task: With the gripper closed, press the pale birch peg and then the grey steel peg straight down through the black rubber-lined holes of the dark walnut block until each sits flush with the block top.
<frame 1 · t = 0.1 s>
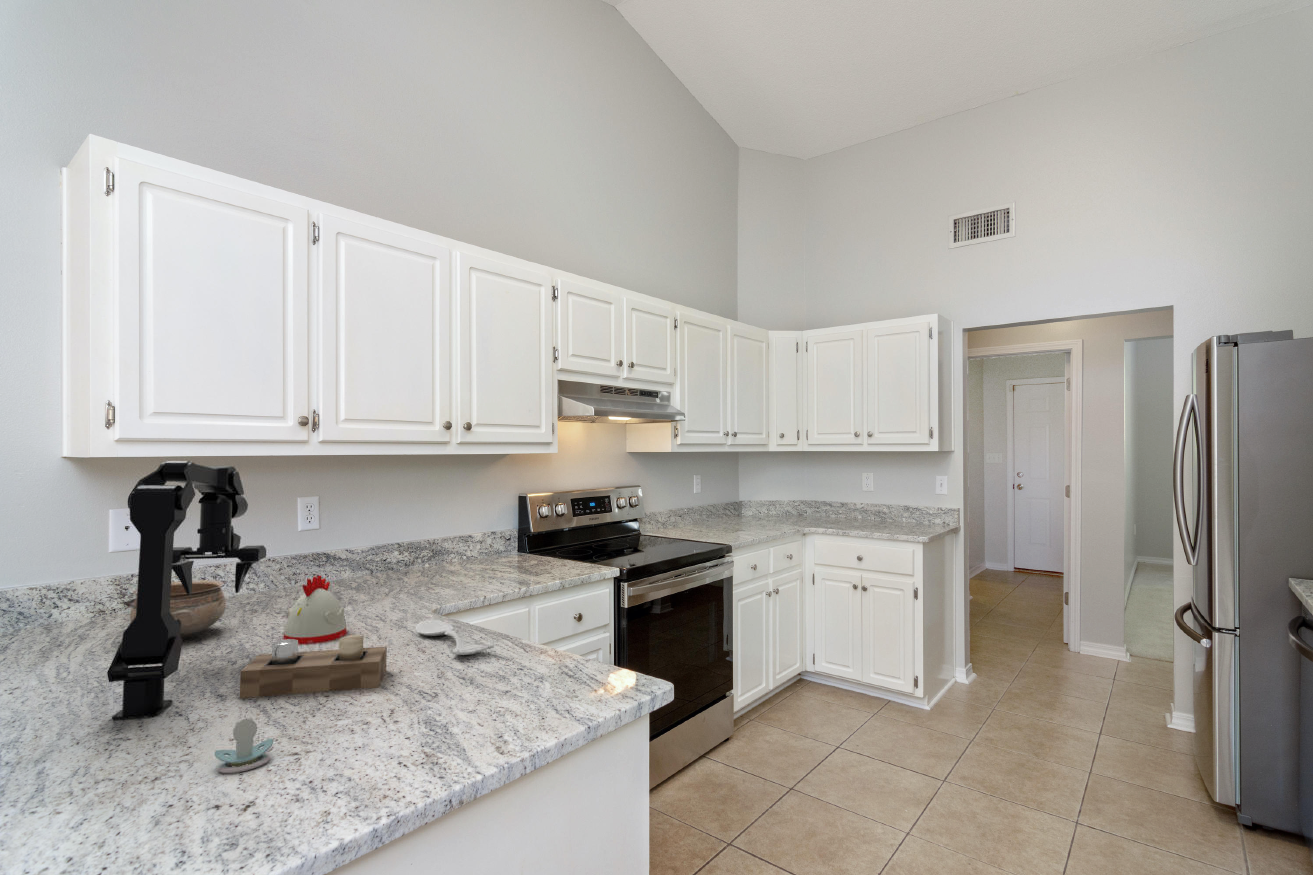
hand: (213, 593, 139), 15 cm above the countertop, fingers open, 9 cm apart
spoon: (449, 645, 153), on the countertop
walnut block: (317, 683, 125), on the countertop
cooking pot: (178, 637, 155), on the countertop
birch peg: (351, 650, 127), point 6 cm above the countertop, slide at 3.5 cm
steel peg: (284, 654, 124), point 6 cm above the countertop, slide at 3.5 cm
pacifier: (244, 765, 93), on the countertop
kitchen timer: (315, 636, 158), on the countertop
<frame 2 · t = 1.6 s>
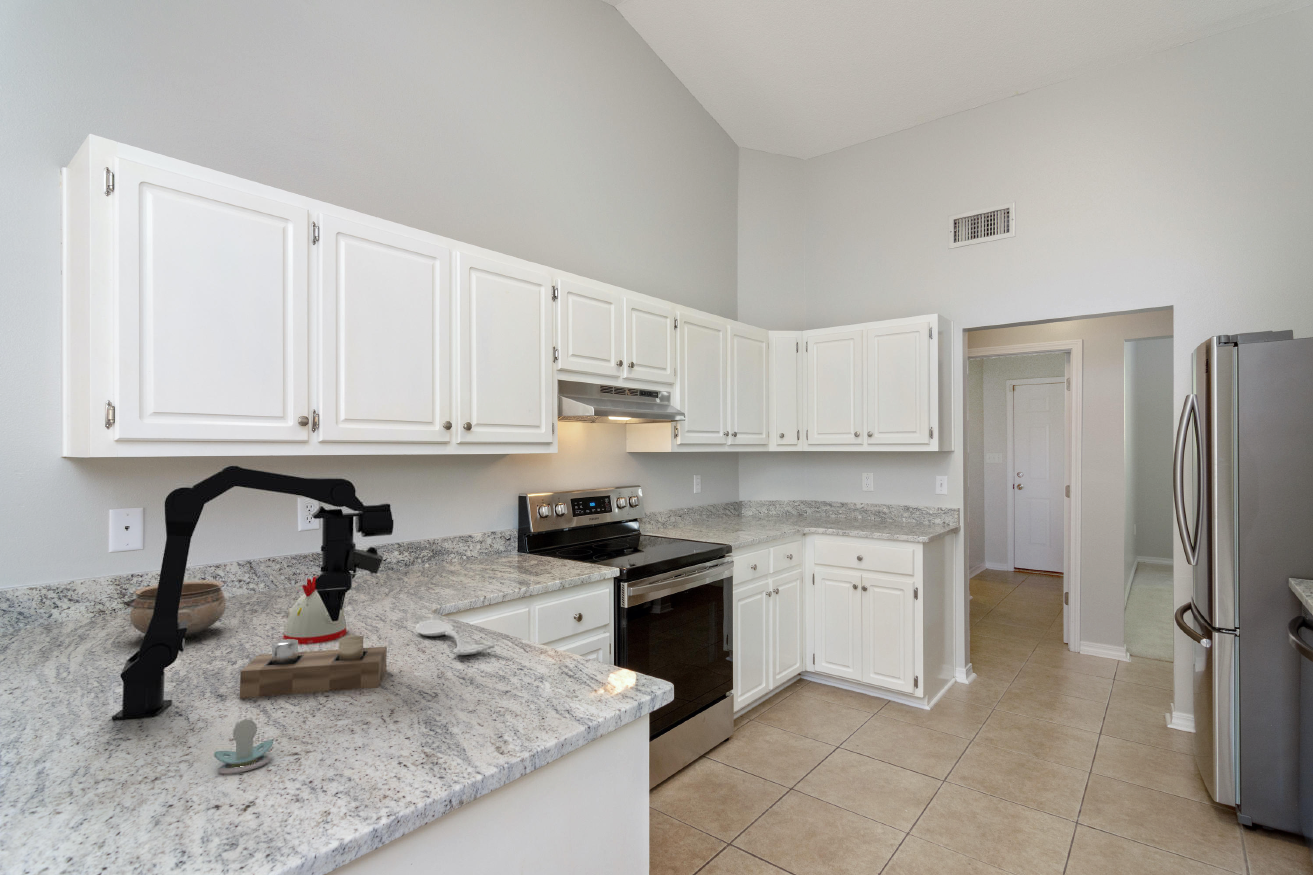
hand: (337, 615, 129), 13 cm above the countertop, fingers open, 9 cm apart
nothing on the countertop moved.
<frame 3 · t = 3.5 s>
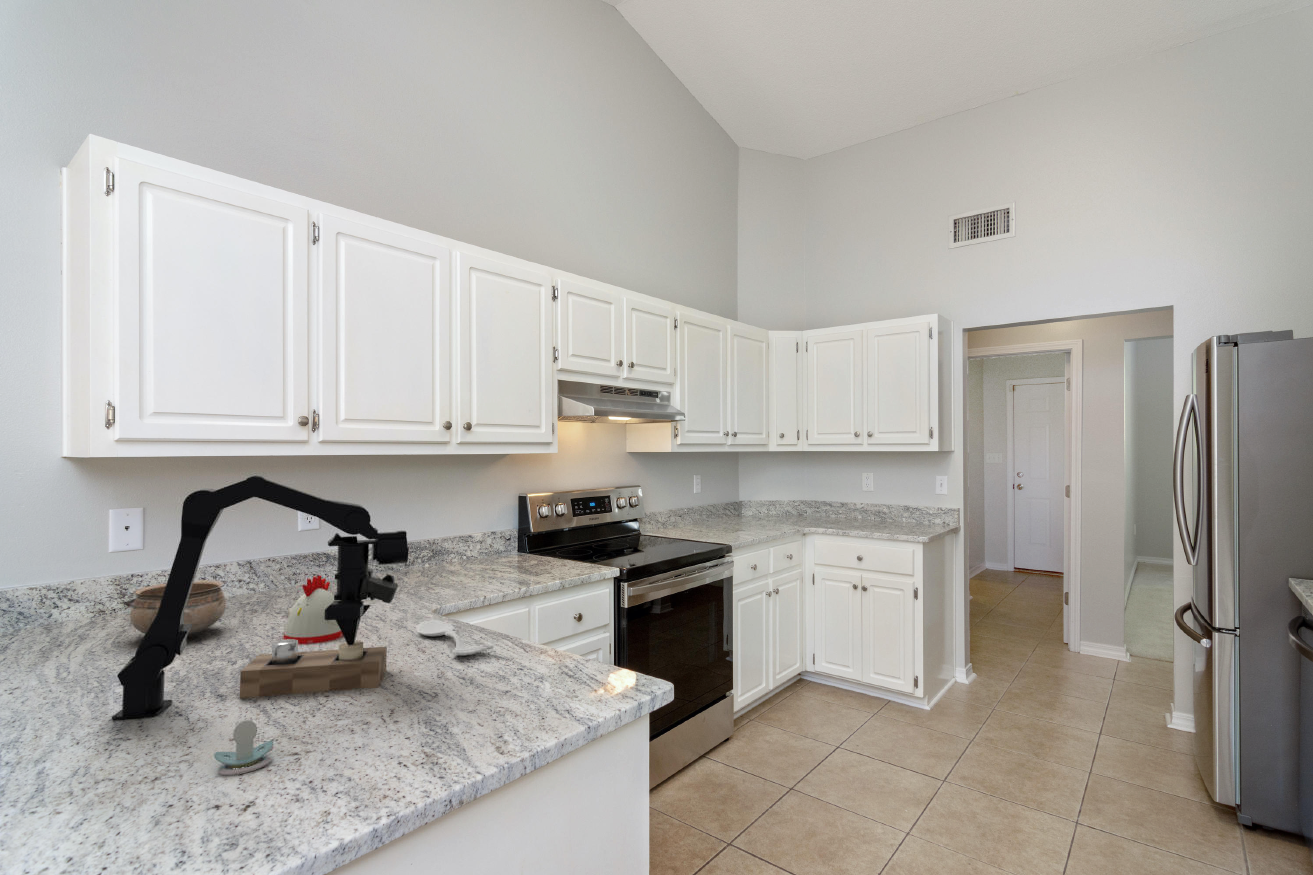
hand: (351, 644, 127), 7 cm above the countertop, fingers closed, pressing on birch peg
birch peg: (351, 655, 127), point 5 cm above the countertop, slide at 2.4 cm, touching gripper
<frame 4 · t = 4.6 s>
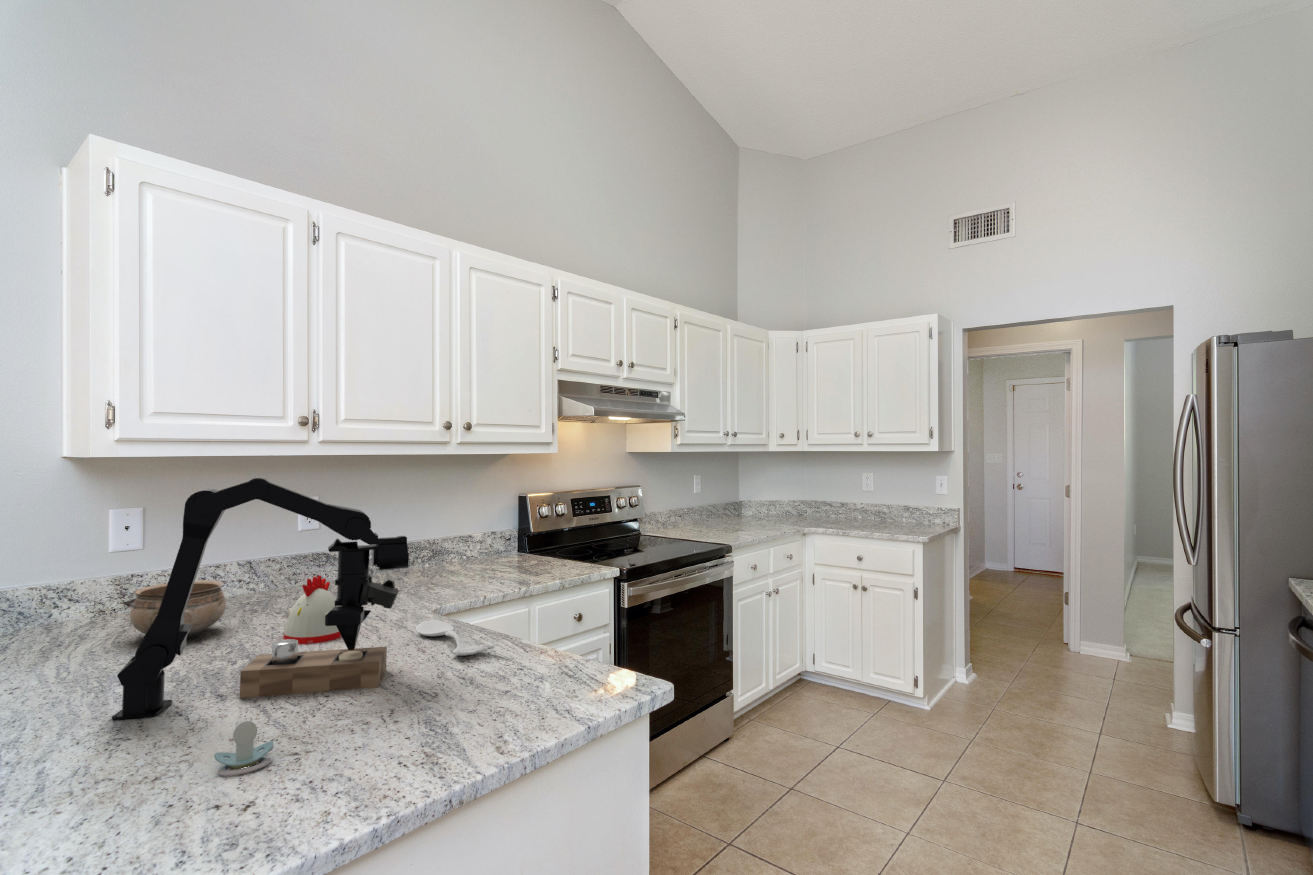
hand: (351, 649, 127), 6 cm above the countertop, fingers closed
birch peg: (350, 666, 127), point 3 cm above the countertop, slide at 0.3 cm
everything else where it was.
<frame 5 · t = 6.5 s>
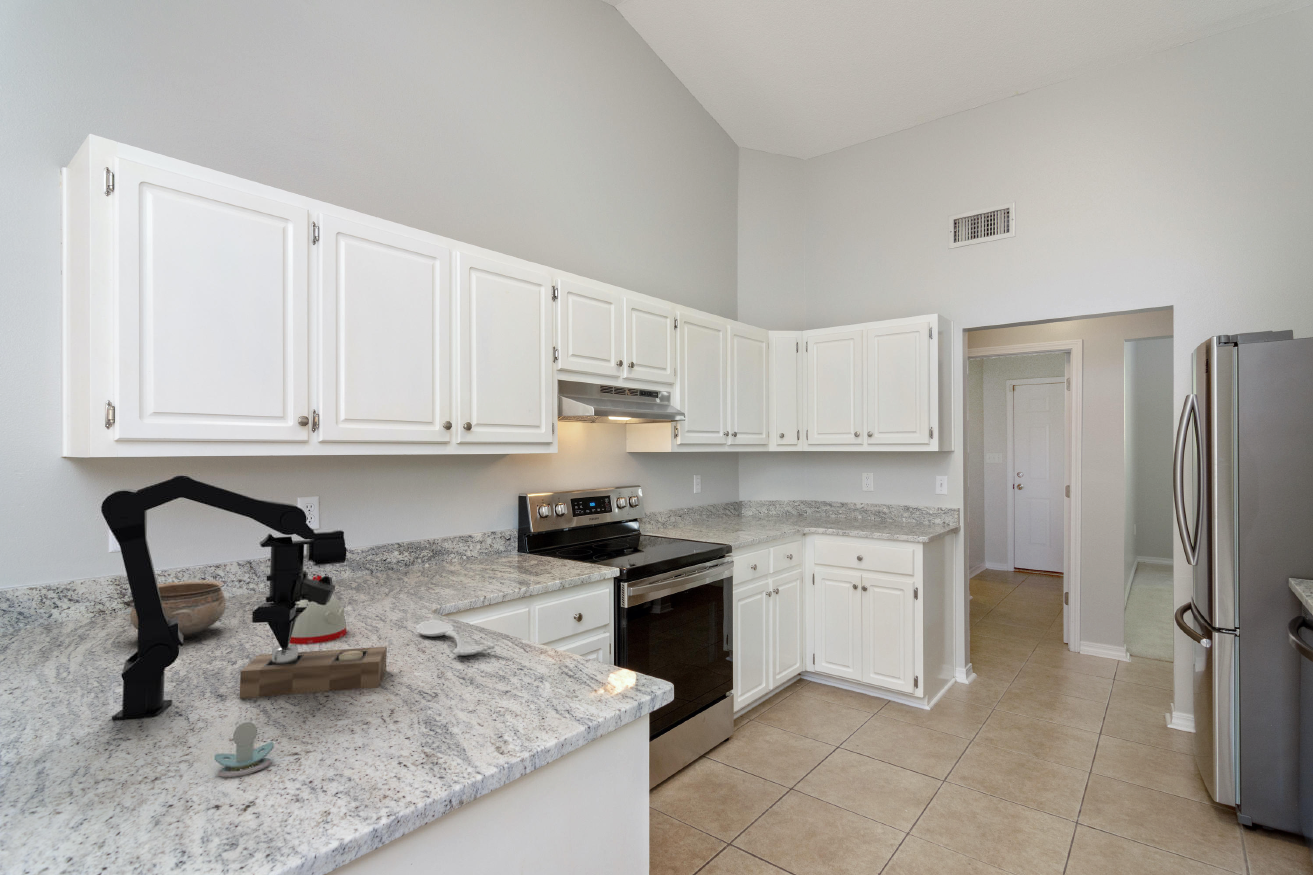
hand: (284, 647, 124), 8 cm above the countertop, fingers closed, pressing on steel peg
steel peg: (284, 659, 124), point 5 cm above the countertop, slide at 2.5 cm, touching gripper
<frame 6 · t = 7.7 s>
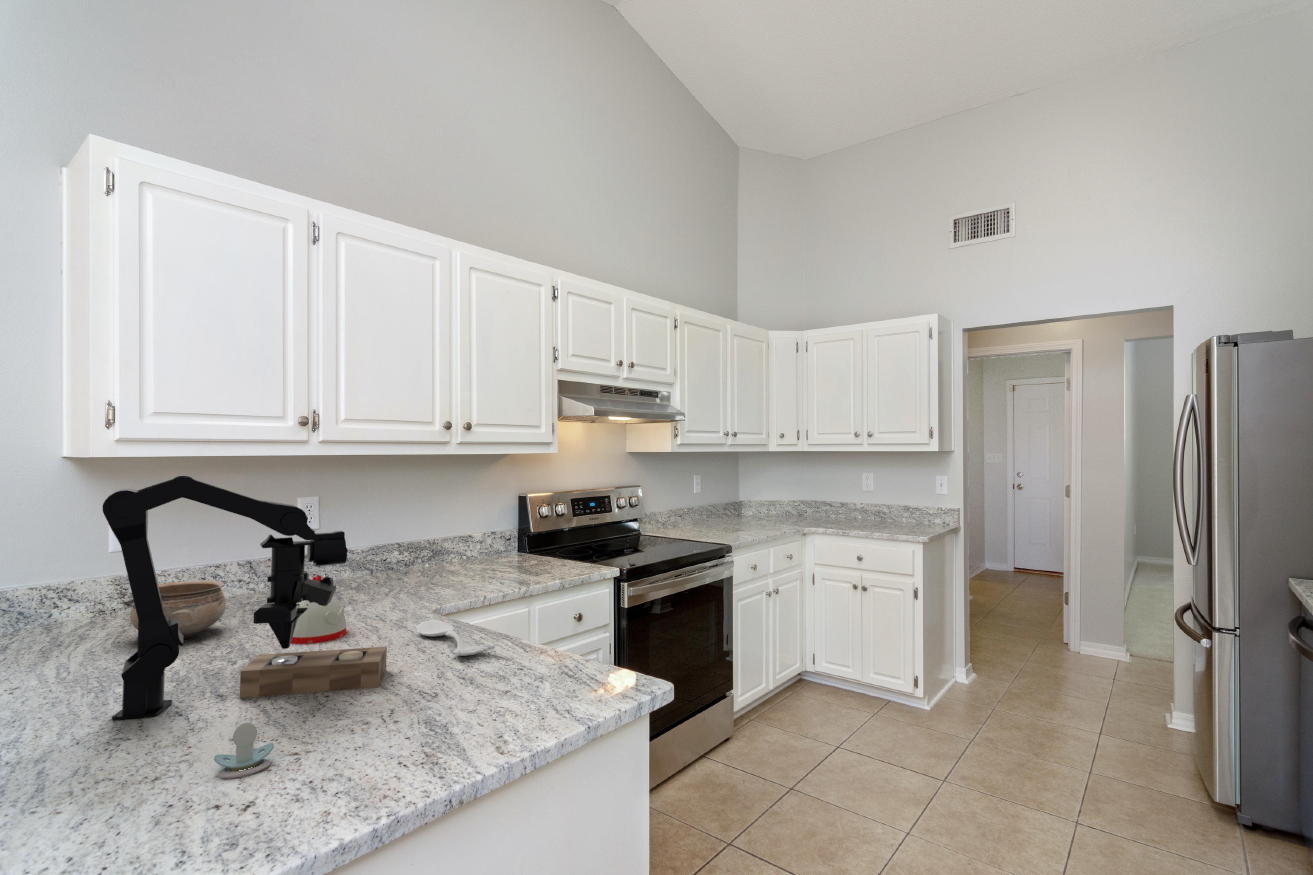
hand: (285, 648, 124), 7 cm above the countertop, fingers closed
steel peg: (284, 671, 124), point 3 cm above the countertop, slide at 0.2 cm
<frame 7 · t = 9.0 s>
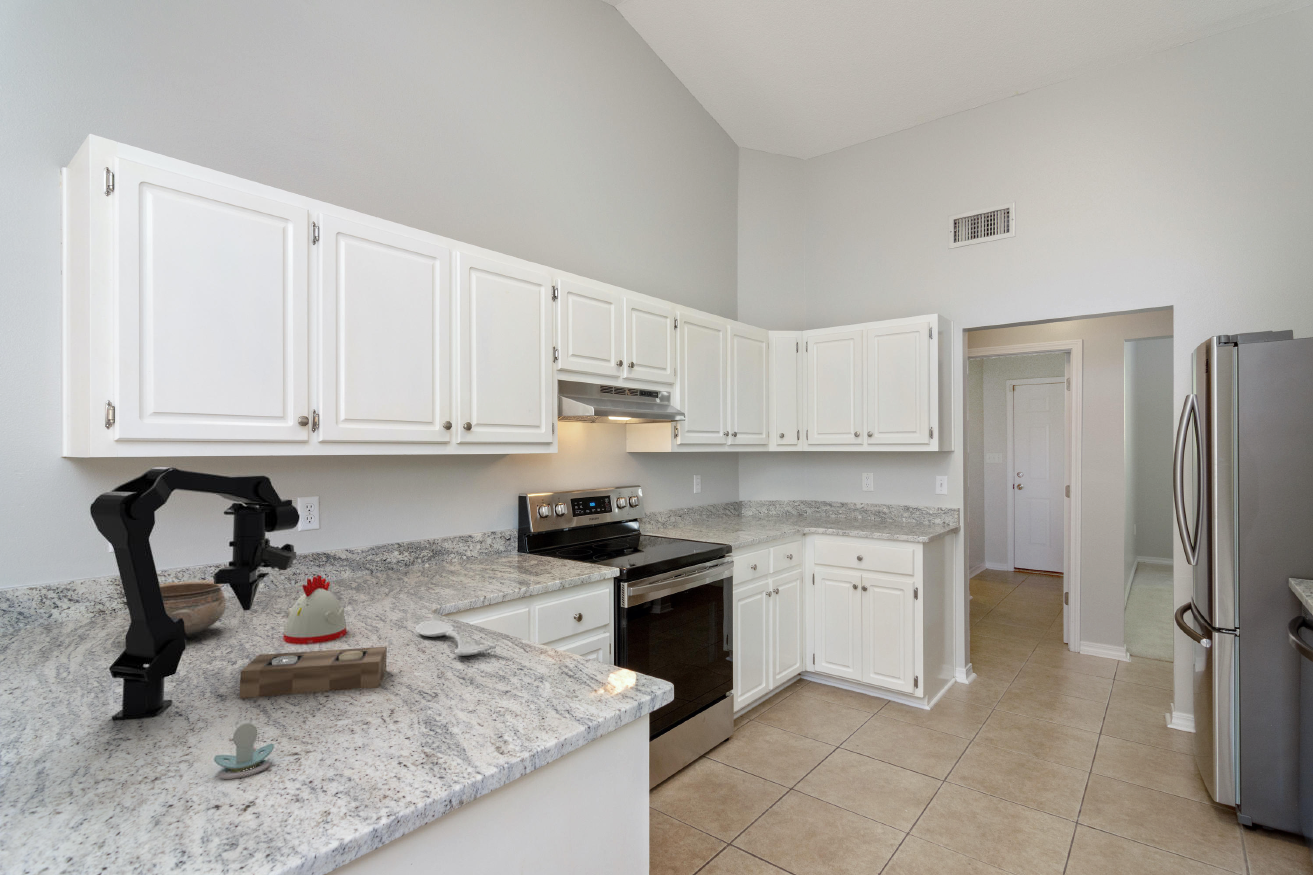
hand: (247, 609, 131), 13 cm above the countertop, fingers closed
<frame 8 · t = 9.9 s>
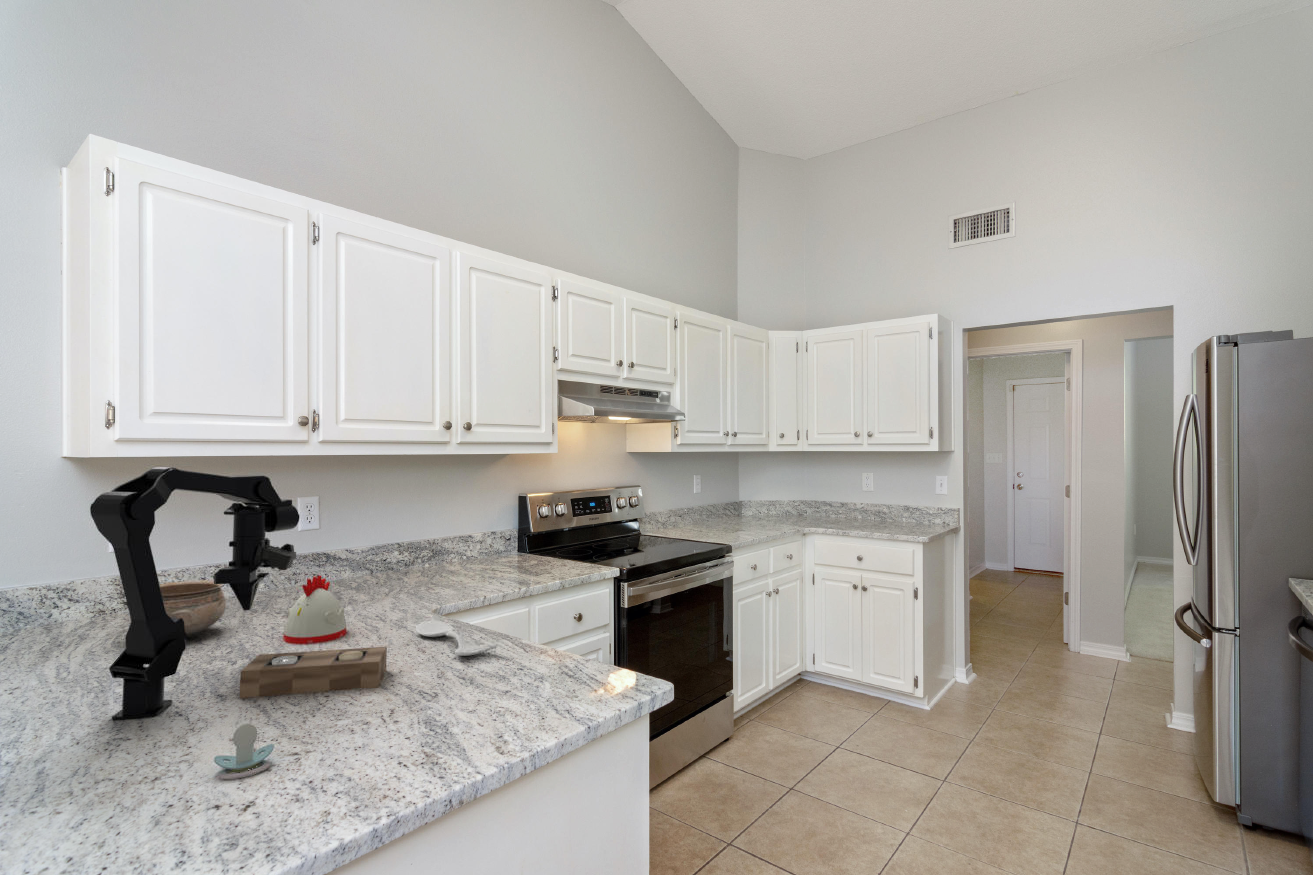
hand: (247, 609, 131), 13 cm above the countertop, fingers closed
at the end: birch peg slide at 0.3 cm; steel peg slide at 0.2 cm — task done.
